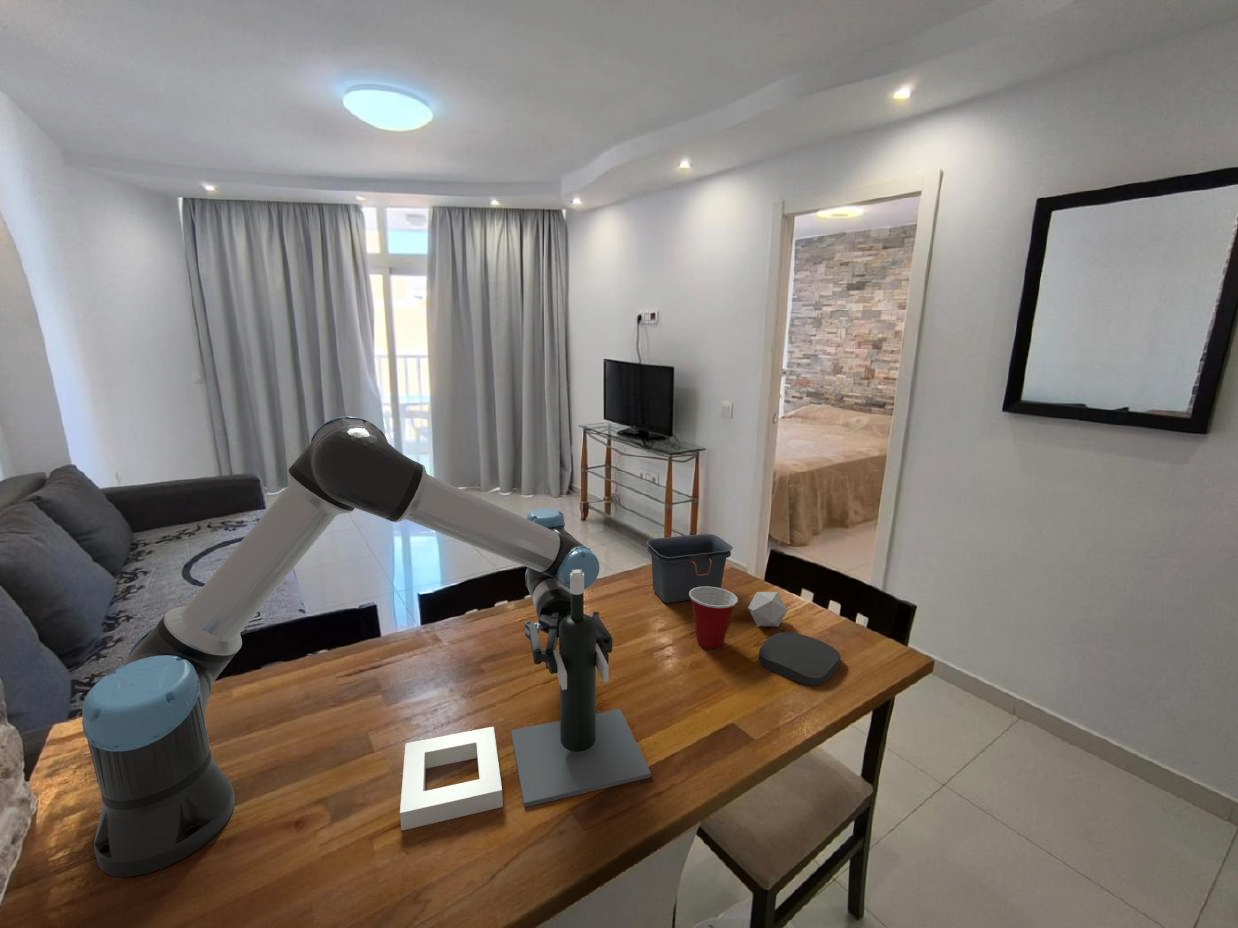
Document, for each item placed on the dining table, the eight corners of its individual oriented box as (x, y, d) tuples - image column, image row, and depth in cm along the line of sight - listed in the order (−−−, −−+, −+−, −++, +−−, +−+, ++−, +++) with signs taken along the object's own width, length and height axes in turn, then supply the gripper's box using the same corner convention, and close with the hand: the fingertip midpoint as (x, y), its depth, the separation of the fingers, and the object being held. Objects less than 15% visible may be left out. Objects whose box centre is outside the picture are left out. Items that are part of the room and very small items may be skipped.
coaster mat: (524, 807, 82) (523, 802, 82) (511, 734, 97) (511, 730, 96) (650, 777, 88) (651, 772, 88) (620, 712, 103) (620, 708, 102)
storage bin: (709, 578, 160) (712, 531, 156) (738, 602, 145) (741, 551, 142) (641, 588, 153) (642, 539, 149) (664, 614, 139) (666, 561, 135)
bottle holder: (401, 830, 78) (399, 812, 77) (406, 758, 91) (405, 743, 90) (502, 806, 82) (502, 789, 81) (494, 741, 95) (493, 726, 94)
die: (777, 639, 129) (798, 603, 130) (746, 619, 130) (766, 583, 131) (767, 633, 137) (787, 599, 139) (738, 614, 138) (757, 581, 139)
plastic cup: (743, 642, 127) (747, 594, 124) (717, 661, 119) (720, 610, 116) (704, 625, 134) (706, 579, 131) (677, 642, 126) (679, 594, 123)
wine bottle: (579, 757, 88) (578, 582, 81) (553, 741, 91) (550, 572, 84) (602, 737, 92) (603, 569, 85) (576, 722, 96) (575, 560, 89)
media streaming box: (818, 692, 110) (819, 679, 109) (751, 663, 119) (752, 651, 118) (845, 661, 120) (846, 649, 120) (782, 636, 130) (783, 625, 129)
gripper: (603, 617, 108) (643, 688, 87) (506, 631, 103) (523, 711, 81) (603, 582, 107) (644, 645, 85) (504, 594, 101) (522, 665, 80)
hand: (585, 677), depth 83 cm, fingers closed on wine bottle, 6 cm apart
